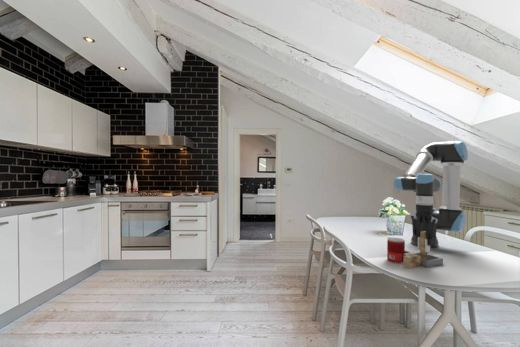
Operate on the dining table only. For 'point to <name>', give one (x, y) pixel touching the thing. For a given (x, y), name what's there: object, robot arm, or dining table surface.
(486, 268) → the dining table surface
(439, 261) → the tray
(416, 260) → the wooden block
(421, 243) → the dowel
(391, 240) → the canned food
